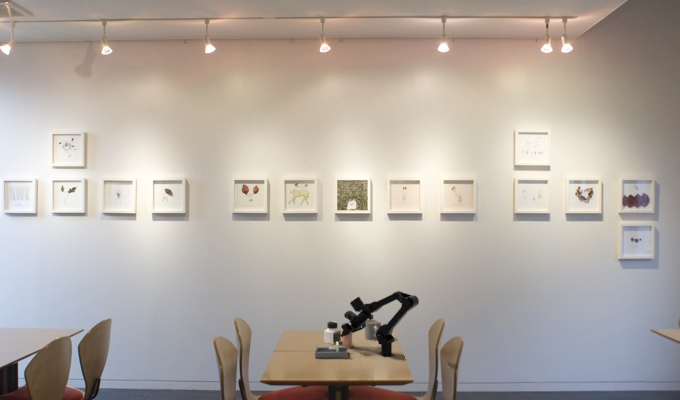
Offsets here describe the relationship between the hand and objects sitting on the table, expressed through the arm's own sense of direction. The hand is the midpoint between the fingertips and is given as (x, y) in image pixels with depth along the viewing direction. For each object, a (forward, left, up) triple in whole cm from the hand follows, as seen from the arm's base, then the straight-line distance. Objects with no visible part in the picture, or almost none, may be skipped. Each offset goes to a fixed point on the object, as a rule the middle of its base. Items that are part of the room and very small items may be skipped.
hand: (345, 334), depth 272 cm
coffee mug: (+10, -22, -7) cm, 25 cm away
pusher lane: (-13, +13, -7) cm, 19 cm away
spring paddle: (-13, +12, -6) cm, 19 cm away
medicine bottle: (+11, +4, -7) cm, 14 cm away
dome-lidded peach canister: (-1, -1, -7) cm, 7 cm away
